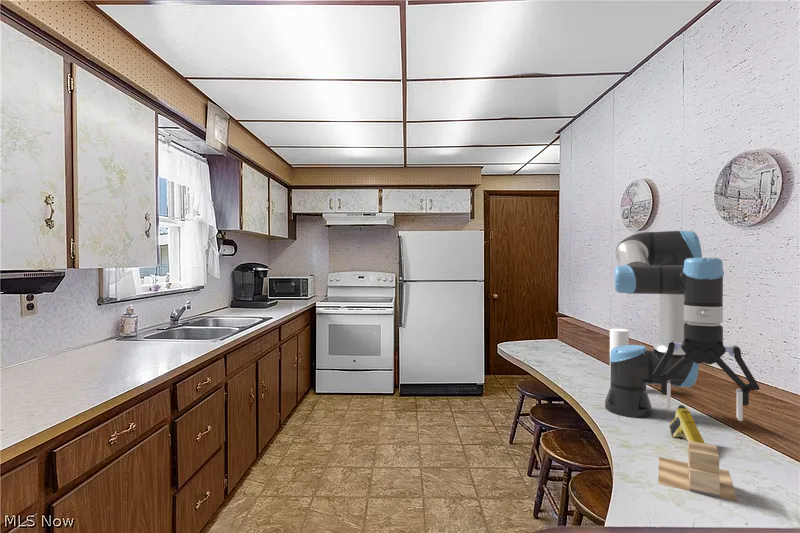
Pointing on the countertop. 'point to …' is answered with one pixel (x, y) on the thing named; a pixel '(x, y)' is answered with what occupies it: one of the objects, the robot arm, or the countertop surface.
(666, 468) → the board
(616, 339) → the cylindrical container
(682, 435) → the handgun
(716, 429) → the countertop surface
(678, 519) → the countertop surface
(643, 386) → the robot arm
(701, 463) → the block
